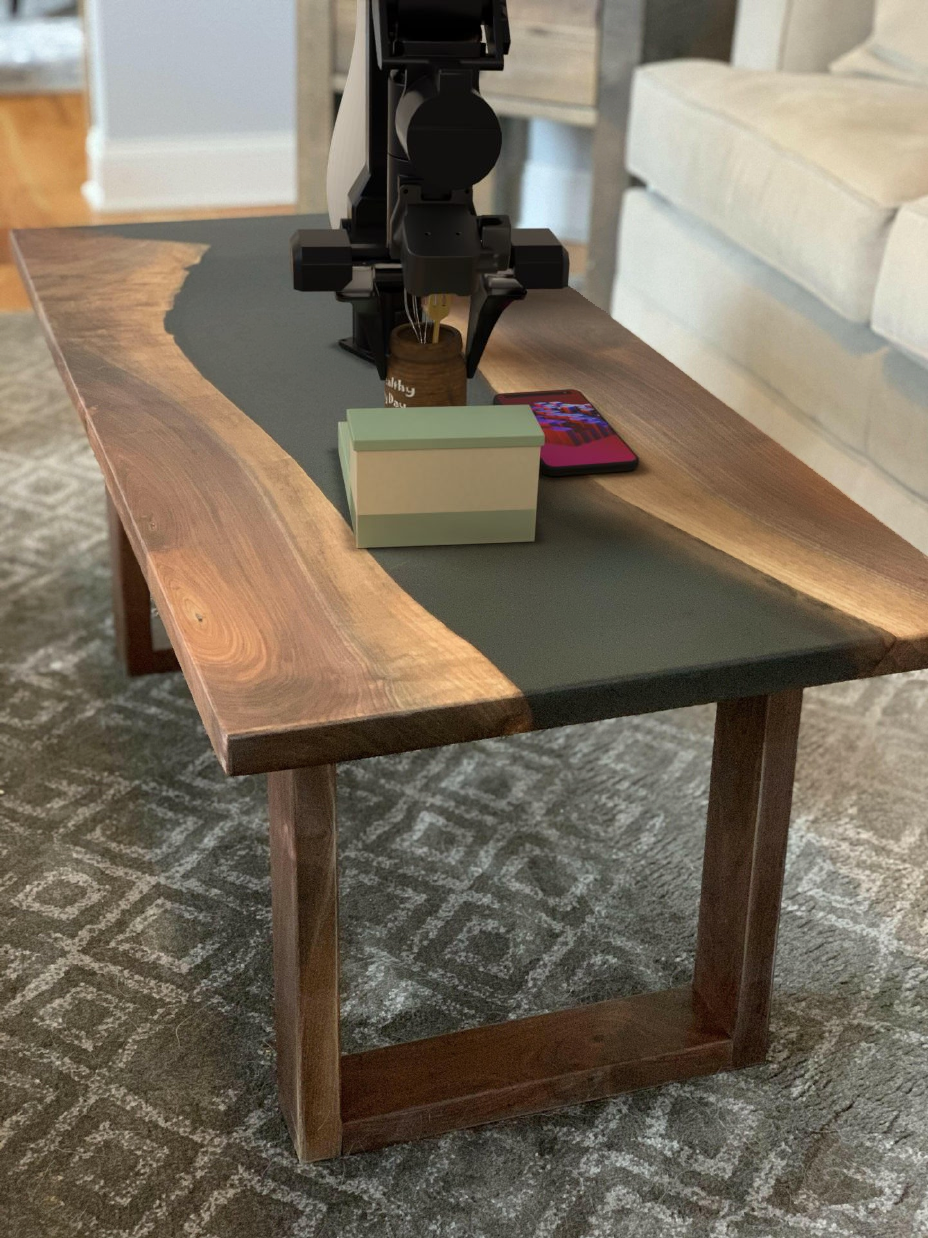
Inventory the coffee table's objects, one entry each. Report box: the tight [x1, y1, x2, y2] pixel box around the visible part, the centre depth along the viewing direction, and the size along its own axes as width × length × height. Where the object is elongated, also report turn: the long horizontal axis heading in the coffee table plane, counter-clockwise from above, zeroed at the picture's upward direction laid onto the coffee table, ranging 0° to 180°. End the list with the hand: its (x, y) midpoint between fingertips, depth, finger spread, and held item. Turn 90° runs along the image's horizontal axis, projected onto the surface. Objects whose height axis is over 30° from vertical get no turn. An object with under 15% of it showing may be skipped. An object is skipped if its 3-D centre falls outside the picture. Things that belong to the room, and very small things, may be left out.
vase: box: [326, 0, 366, 229], centre depth 135 cm, size 14×14×30 cm
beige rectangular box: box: [337, 405, 545, 549], centre depth 99 cm, size 16×12×8 cm
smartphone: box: [492, 388, 640, 477], centre depth 111 cm, size 8×1×15 cm
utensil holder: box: [384, 287, 468, 408], centre depth 99 cm, size 6×6×12 cm
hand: (425, 377), depth 101 cm, fingers closed on utensil holder, 6 cm apart
